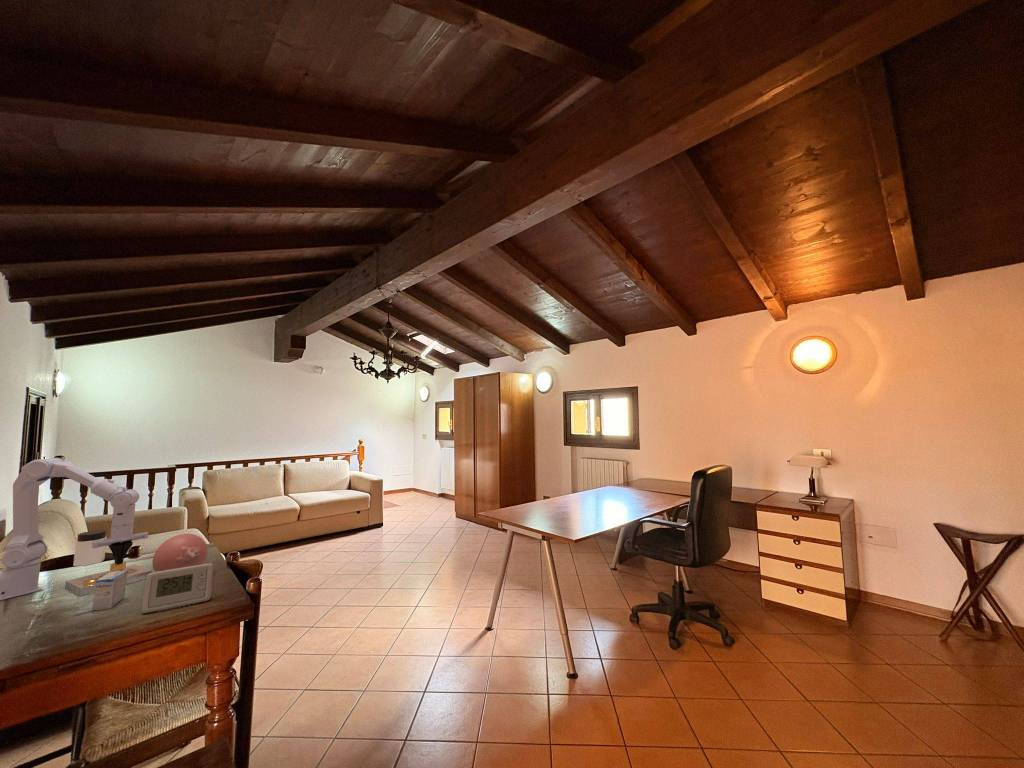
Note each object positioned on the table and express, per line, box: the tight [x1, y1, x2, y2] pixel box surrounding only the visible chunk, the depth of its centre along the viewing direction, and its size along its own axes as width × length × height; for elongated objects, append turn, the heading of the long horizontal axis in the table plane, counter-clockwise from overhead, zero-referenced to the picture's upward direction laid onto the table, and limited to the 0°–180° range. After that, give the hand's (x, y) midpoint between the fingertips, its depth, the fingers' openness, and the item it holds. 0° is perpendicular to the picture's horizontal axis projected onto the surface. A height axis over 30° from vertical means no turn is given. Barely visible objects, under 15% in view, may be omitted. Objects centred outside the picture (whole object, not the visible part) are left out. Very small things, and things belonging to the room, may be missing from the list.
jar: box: [72, 529, 108, 567], centre depth 160 cm, size 9×8×12 cm
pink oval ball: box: [151, 533, 209, 572], centre depth 141 cm, size 15×20×15 cm
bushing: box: [109, 561, 127, 572], centre depth 140 cm, size 4×4×6 cm
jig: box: [64, 564, 152, 597], centre depth 138 cm, size 18×14×4 cm
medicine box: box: [91, 571, 127, 611], centre depth 121 cm, size 8×4×9 cm, turn 23°
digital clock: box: [141, 563, 214, 614], centre depth 120 cm, size 16×9×11 cm, turn 113°
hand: (118, 563), depth 140 cm, fingers closed, pressing on bushing
